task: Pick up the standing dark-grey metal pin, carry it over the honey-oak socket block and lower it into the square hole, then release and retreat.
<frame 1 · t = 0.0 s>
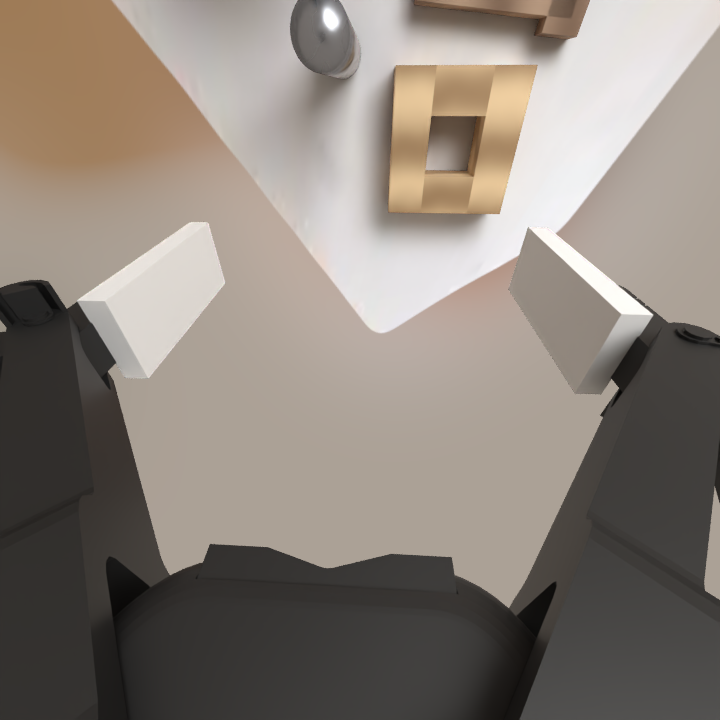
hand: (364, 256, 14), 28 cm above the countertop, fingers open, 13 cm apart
socket block: (447, 143, 35), on the countertop
pin: (341, 53, 31), on the countertop
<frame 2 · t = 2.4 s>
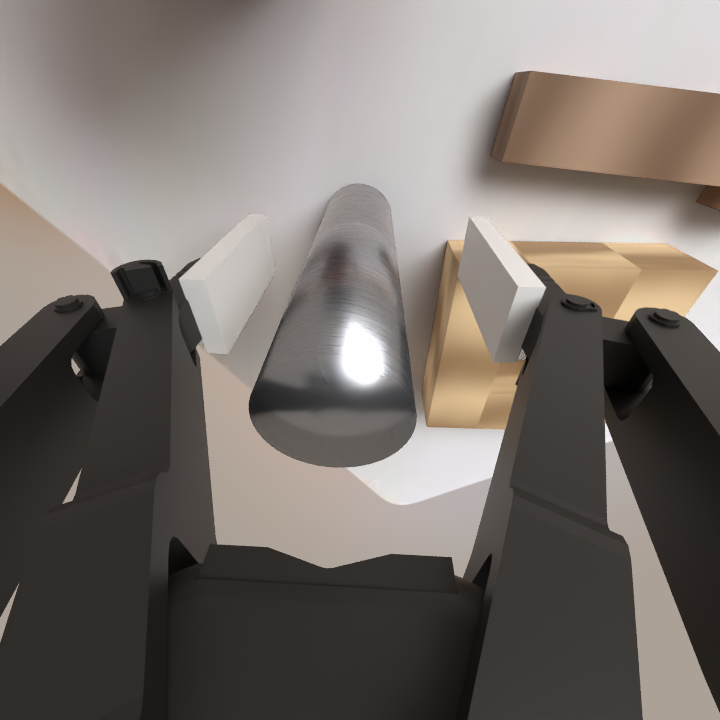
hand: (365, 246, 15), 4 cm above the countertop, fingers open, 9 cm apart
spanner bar: (639, 132, 15), on the countertop
socket block: (522, 331, 22), on the countertop
pin: (358, 220, 18), on the countertop
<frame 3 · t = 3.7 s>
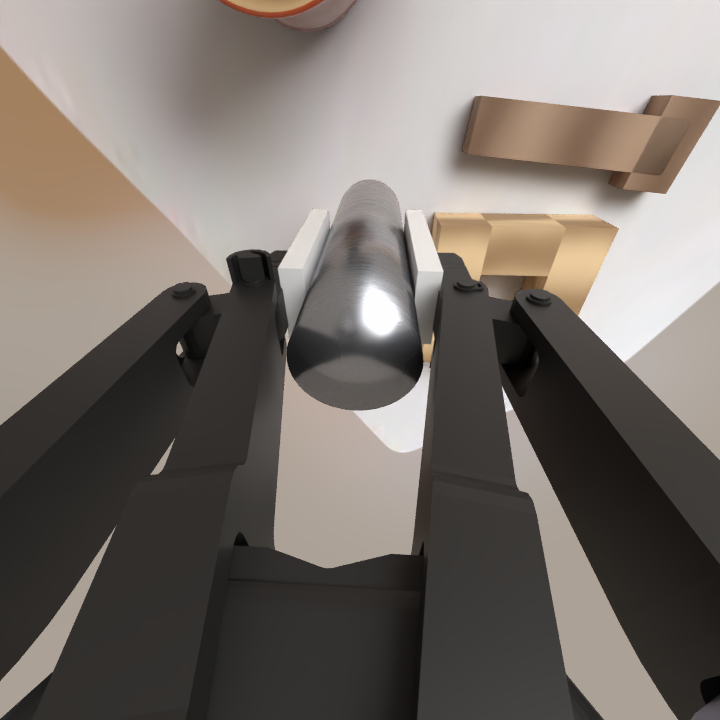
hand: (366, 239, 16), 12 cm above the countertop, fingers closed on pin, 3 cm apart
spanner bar: (562, 135, 22), on the countertop
socket block: (493, 285, 29), on the countertop
pin: (369, 213, 19), point 7 cm above the countertop, touching gripper
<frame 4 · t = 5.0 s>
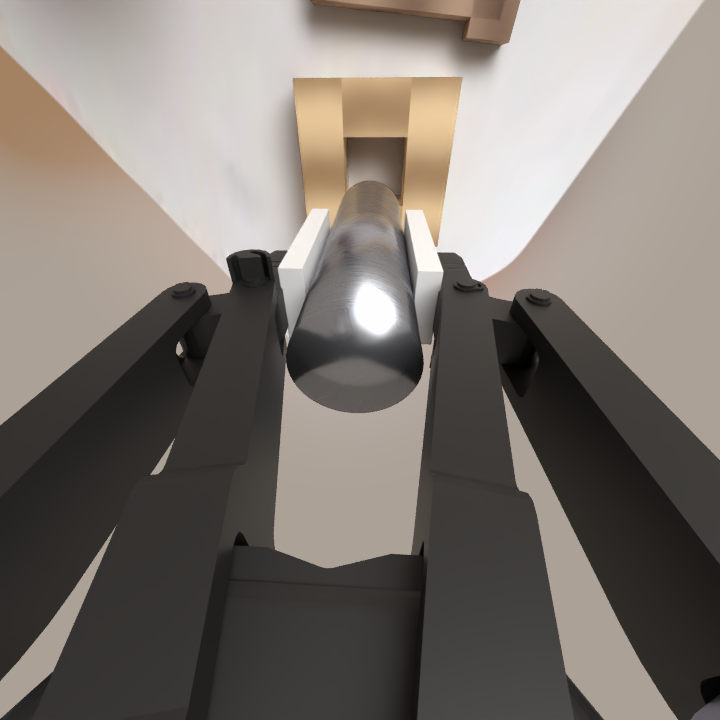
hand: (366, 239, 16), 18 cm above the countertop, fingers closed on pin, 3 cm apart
socket block: (375, 165, 30), on the countertop
pin: (369, 214, 19), point 14 cm above the countertop, touching gripper
when the fingers open (5 cm above the countertop, at t = 6.9 s): pin stays where it is, resting in socket block.
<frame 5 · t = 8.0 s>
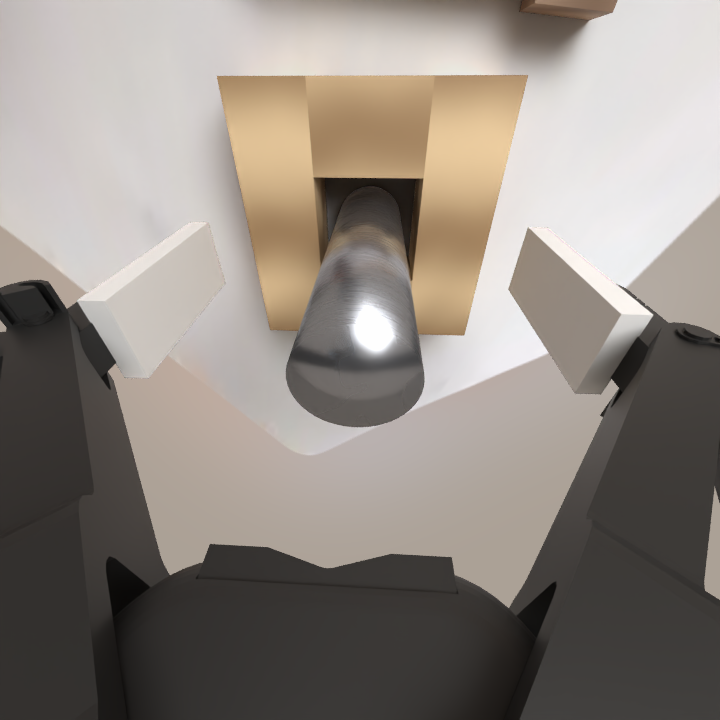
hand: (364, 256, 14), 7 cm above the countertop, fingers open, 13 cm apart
socket block: (369, 213, 19), on the countertop
pin: (369, 219, 19), resting in socket block
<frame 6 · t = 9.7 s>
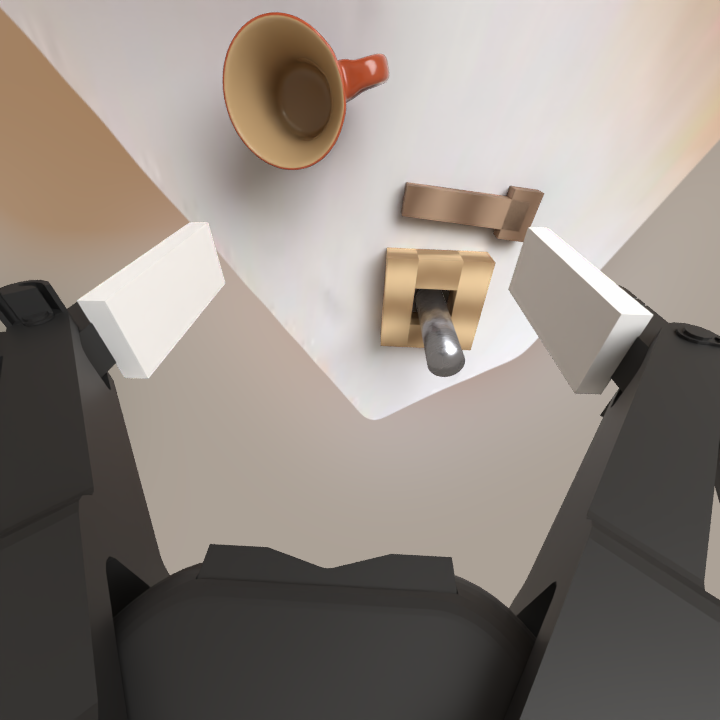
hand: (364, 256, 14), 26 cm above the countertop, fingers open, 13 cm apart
mug: (325, 97, 31), on the countertop
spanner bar: (461, 204, 36), on the countertop
socket block: (429, 295, 43), on the countertop
pin: (429, 297, 43), resting in socket block
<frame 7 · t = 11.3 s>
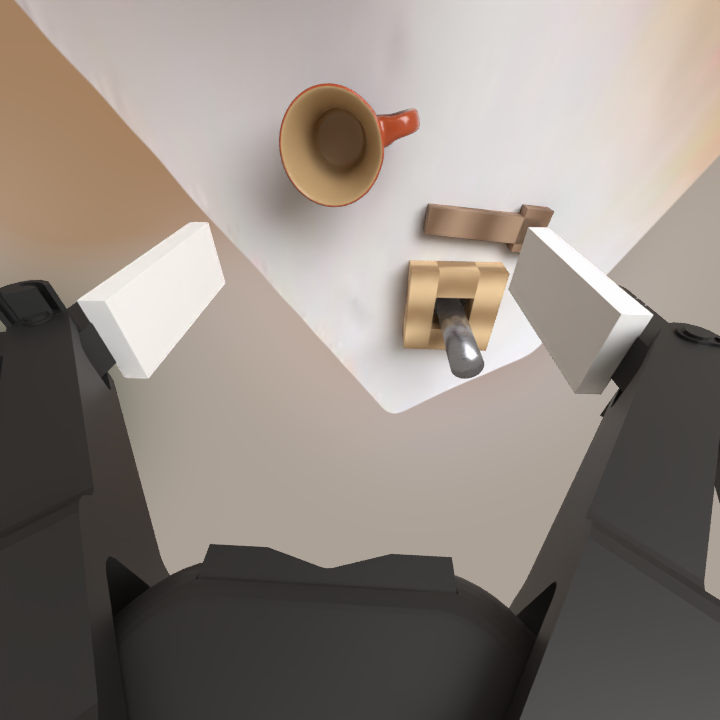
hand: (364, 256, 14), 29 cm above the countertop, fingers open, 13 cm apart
mug: (356, 132, 35), on the countertop
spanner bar: (477, 221, 40), on the countertop
socket block: (447, 301, 47), on the countertop
pin: (447, 303, 47), resting in socket block
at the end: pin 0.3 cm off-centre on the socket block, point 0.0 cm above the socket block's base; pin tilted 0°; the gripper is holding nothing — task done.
